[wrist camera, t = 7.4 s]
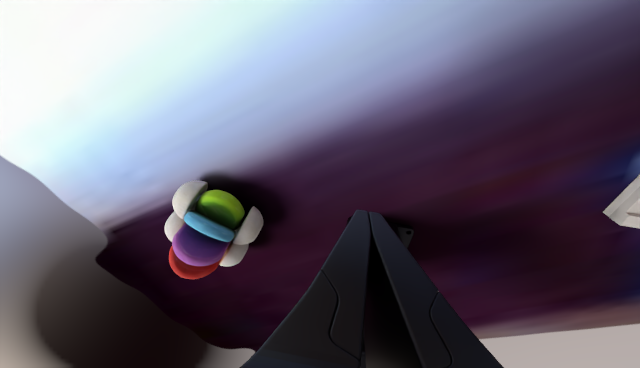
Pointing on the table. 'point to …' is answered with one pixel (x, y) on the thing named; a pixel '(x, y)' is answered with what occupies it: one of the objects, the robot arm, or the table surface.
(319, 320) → the robot arm
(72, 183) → the table surface
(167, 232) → the multicoloured layered toy figurine
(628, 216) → the tray
